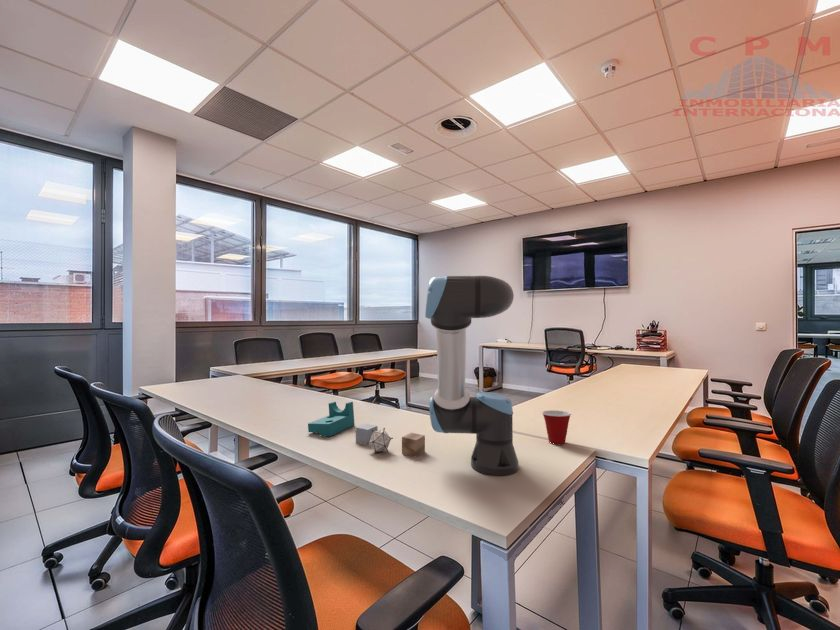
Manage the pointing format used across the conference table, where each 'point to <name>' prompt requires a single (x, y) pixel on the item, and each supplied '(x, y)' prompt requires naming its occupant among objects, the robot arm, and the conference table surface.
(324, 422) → the teal l-shaped bracket
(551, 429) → the plastic cup
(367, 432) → the slate-grey block
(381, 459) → the conference table surface
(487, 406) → the robot arm
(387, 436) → the grey spiky polyhedron
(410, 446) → the walnut block
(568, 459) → the conference table surface
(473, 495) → the conference table surface
